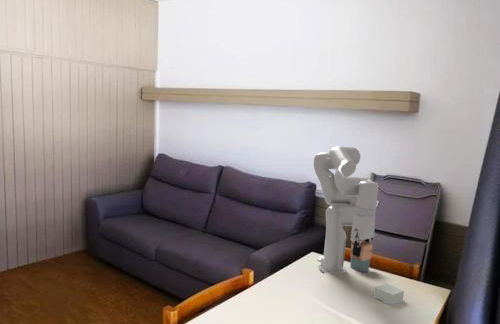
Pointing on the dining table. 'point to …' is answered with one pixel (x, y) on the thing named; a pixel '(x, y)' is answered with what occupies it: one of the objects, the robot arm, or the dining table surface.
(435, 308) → the dining table surface
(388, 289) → the base block
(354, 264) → the teal cup
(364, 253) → the top block
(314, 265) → the dining table surface
